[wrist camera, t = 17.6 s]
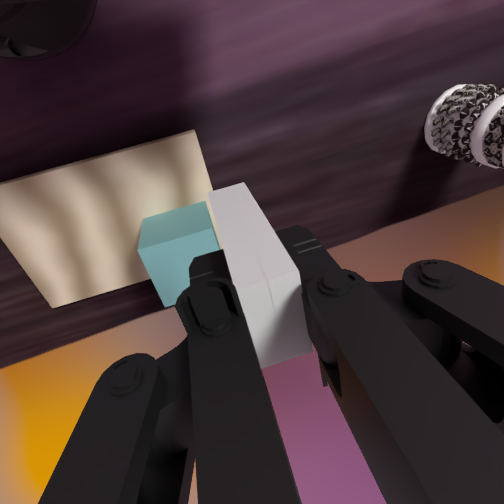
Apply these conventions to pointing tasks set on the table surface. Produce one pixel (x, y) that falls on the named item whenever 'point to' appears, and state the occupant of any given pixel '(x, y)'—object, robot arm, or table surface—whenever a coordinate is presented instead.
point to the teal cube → (175, 247)
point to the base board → (98, 215)
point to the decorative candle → (468, 124)
